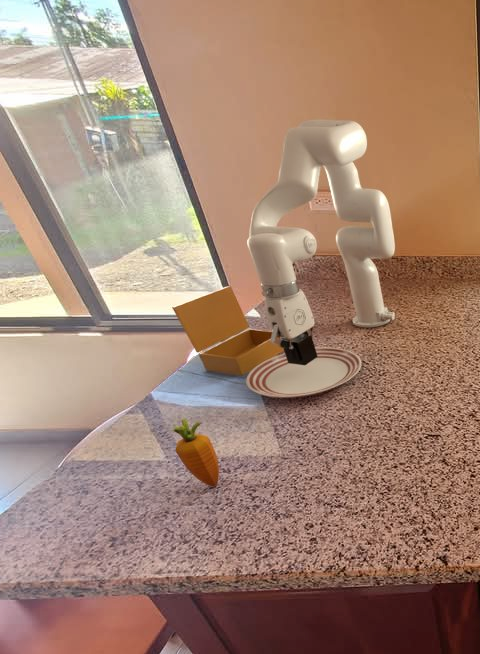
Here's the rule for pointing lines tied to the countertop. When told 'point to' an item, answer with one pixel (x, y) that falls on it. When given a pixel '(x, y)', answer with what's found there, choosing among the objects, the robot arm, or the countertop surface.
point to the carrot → (197, 454)
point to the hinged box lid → (211, 318)
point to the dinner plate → (303, 374)
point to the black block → (304, 349)
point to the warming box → (240, 352)
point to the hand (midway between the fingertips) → (301, 355)
